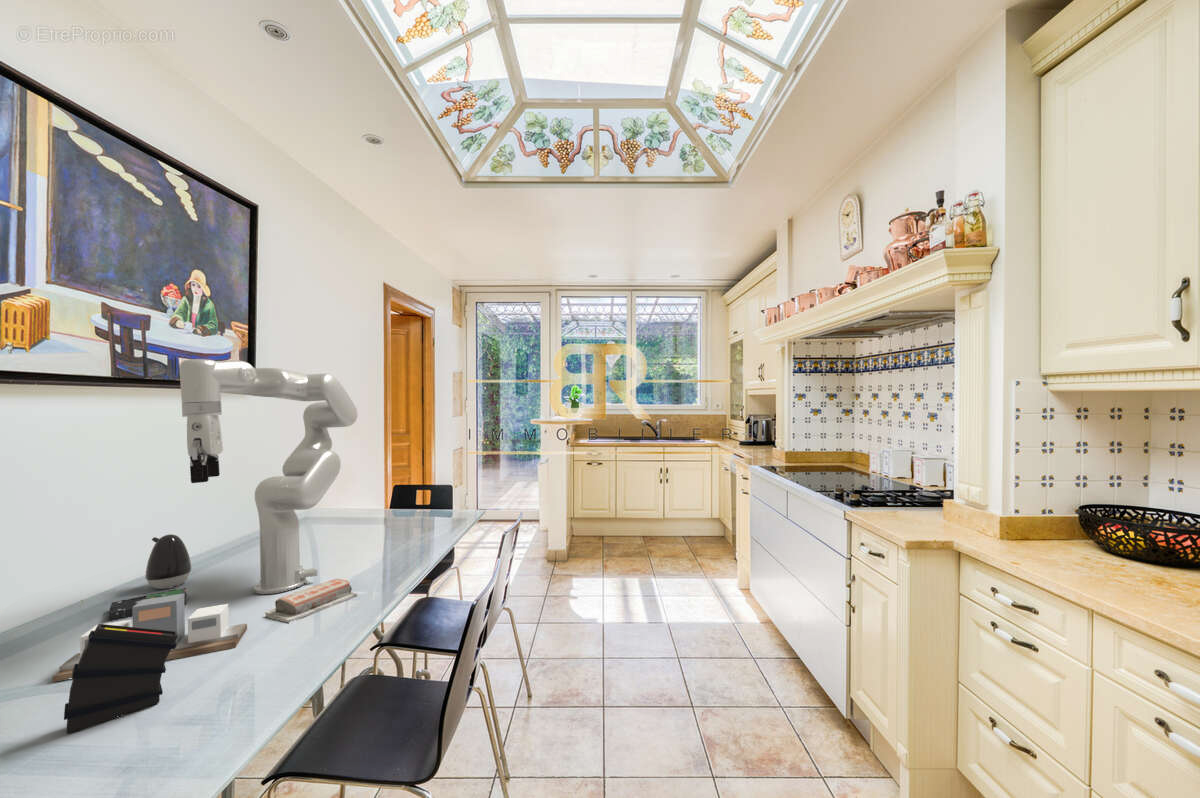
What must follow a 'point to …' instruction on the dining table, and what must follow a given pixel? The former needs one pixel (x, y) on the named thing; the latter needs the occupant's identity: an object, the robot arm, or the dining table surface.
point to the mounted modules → (200, 625)
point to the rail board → (176, 649)
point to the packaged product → (311, 600)
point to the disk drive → (125, 606)
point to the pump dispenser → (168, 563)
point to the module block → (161, 614)
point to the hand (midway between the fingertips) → (205, 479)
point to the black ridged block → (117, 674)
